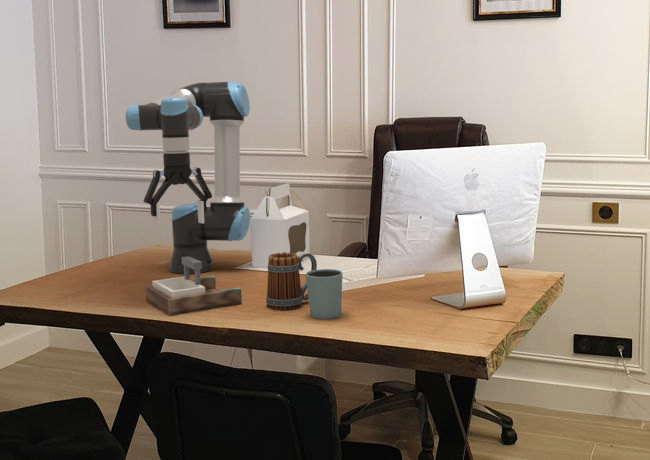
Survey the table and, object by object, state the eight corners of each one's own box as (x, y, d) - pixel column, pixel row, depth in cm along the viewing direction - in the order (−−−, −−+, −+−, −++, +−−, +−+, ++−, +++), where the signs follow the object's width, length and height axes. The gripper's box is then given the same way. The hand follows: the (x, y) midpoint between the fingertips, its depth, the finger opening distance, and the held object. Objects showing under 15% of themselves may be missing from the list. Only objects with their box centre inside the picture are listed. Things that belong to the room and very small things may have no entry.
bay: (214, 290, 262) (213, 275, 262) (241, 304, 245) (241, 288, 245) (146, 301, 251) (145, 285, 250) (170, 315, 234) (169, 299, 234)
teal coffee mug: (347, 318, 229) (347, 275, 227) (312, 321, 226) (311, 278, 224) (336, 308, 238) (336, 267, 236) (302, 312, 235) (301, 270, 233)
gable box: (277, 255, 317) (275, 181, 312) (310, 257, 312) (308, 182, 307) (251, 267, 297) (248, 188, 292) (285, 269, 292) (283, 189, 287)
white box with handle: (186, 292, 256) (185, 254, 254) (208, 303, 242) (206, 263, 240) (153, 297, 250) (150, 258, 248) (172, 309, 236) (170, 268, 234)
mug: (275, 312, 236) (273, 260, 233) (260, 304, 245) (258, 254, 242) (324, 305, 243) (323, 254, 240) (308, 297, 252) (307, 248, 249)
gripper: (210, 149, 251) (213, 219, 254) (129, 153, 238) (134, 227, 242) (221, 150, 245) (224, 222, 248) (139, 155, 232) (143, 230, 235)
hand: (179, 225), depth 245 cm, fingers open, 13 cm apart
